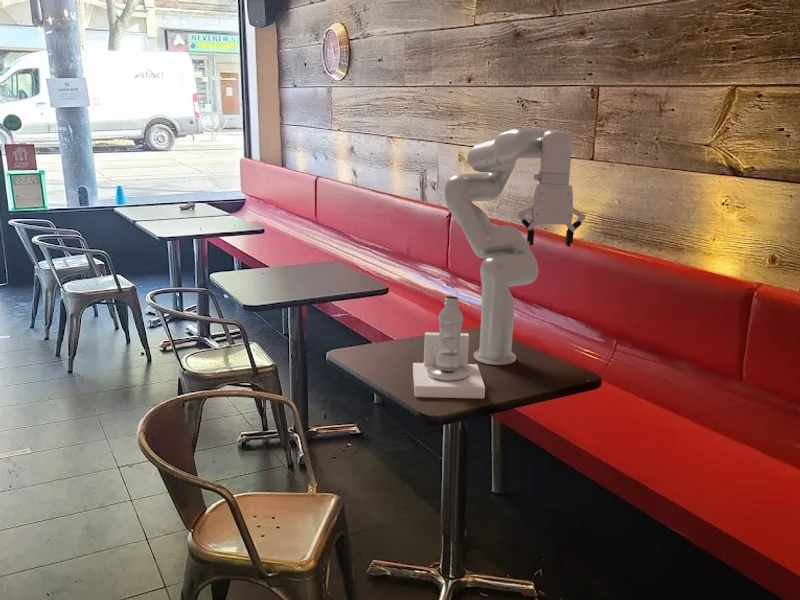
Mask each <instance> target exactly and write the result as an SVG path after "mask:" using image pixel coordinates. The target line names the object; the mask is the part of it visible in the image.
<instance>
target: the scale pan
mask: <svg viewBox="0 0 800 600" xmlns="http://www.w3.org/2000/svg"><path fill="white" fill-rule="evenodd" d="M427 374H428V375H429V376H430V377H432V378H434V379H438V380H443V381H457V380H462V379H465V378H467V377H468V369H467V368H465V367H463V366H461V365H460V367H459V368H458V369H457V370H456V371H443V370H440V369H439V368H438V367H437V364H434V365H431V366H429V367H428V369H427Z"/></svg>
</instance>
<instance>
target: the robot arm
mask: <svg viewBox="0 0 800 600" xmlns="http://www.w3.org/2000/svg"><path fill="white" fill-rule="evenodd" d="M572 148H573V134H572V133H571V131H567V130H554V129H549V128H515V129H511V130H507V131H504V132H501V133H499V134H497V136H496V137H495V138H494V139H491V140H488V141H487V140H486V141H484V142H480V143H477V144H475V145H474V146H472V147H471V148H470V150H469V151H468V153H467V158H466V159H467V164H468V166H469V167H470V168H471V169H472V170H473V171H475V172H477V173H473V172H472V173H459V174H455V175H453V176H451V177H449V179H448V180H447V181H446V183H445V186H444V200H445V202H446V203H445V204H446V206H447V208H448V210H449V212H450V214H451V215H452V218H454V219H455V221H456V222H457V223H458V225H459V227H460V228H461V230H462V231H463V234H464V237H465V238H466V240H467V242H468V244H469V245H470V248H471V249H472V252H473V253H474V254H475V256H477V257H478V258H481V259H484V260H483V261H482V262H481V264H480V267H479V268H480V269H479V272H480V273H479V274H480V282H481V315H480V334H479V348H478V350H476V351H474V352H473V358H474V360H475V361H477V362H479V363H482V364H486V365H492V366H503V365H504V366H505V365H510V364H514V363H515V362H516V360H517V355H516V354H515V353H514V352H512V348H513V347H512V344H513V331H514V316H515V300H514V297H513V295H512V293H511V290H510V287H516V286H517V287H518V286H525V285H530V284H533V283H534V282H535V281H536V280H537V279H538V276H539V265H538V261H537V259H536V257H535V255H534V253H533V251H532V250H531V248H530V246H534V241H535V239H534V238H535V230H534V228H535V227H536V226H537V225H538V224H540V225H565V226H566V227H567V230H566V233H565V246H567V247H569V248H570V247H571V244H572V243H573V242H574V232H575V231H576V230H577V229H578V228H579V227H580V226H581V225H582V223H583V222H584V220H585V218H586V214H585V213H583V212H581V211H579V210H578V209H577V208H574V194H573V193H574V191H573V186H572V185H571V184H570V175H571V162H572V151H573V150H572ZM530 158H531V159H533V158H534V159H540V168H539V173H538V174H534V175H533V180H535V181H538V183H537V184H536V186H535V190H534V195H533V198H532V205H531V206H529V207H526V208H525V209H522V210H521V211H518V213H517V214H518V217H519V218H520V221H521V223H522V225H524V227H525V228H527V237H526V239H525V238H524V236H523V234H522V232H521V231H520V230H519V229H518V228H516V227H515V226H512V225H494V224H493V223H492V222H491V221H490V219H489V217H488V215H487V213H485V211H484V210H483V209H481V208H480V207H479V206H478V205H477V204H475V203H474V202H489V201H491V202H492V201H494V200H497V199H498V197H500V196H501V194H502V192H503V191H504V188H505V187H506V184H507V183H508V181H509V179H510V177H511V175H512V173H513V171H514V168H515V166H516V163H517V160H518V159H530ZM528 214H531V220H530V221H529V222H528V220H527V219H526V215H528ZM573 214H574V215H576V216H577V220H575V222H573V217H574V215H573ZM572 222H573V223H572ZM527 242H528V243H527ZM528 244H529V245H528Z"/></svg>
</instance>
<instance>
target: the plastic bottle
mask: <svg viewBox="0 0 800 600" xmlns="http://www.w3.org/2000/svg"><path fill="white" fill-rule="evenodd" d="M459 299H460V298H459V297H458V296H453V295H448V296H445V297H444V302H443V305H444V307H443V308H442V309H441V311H440V312H439V315H438V327H439V333H440V341H439V349H438V353H437V358H436V364H437V367H438V368H439V369H440V370H443V371H456V370H457V369H458V368H459V367H460V363H461V357H460V334H461V333H462V327H463V321H464V315H463V313H462V311H461V310H460V308H459V307H458V306H460V301H459Z"/></svg>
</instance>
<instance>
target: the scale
mask: <svg viewBox="0 0 800 600" xmlns="http://www.w3.org/2000/svg"><path fill="white" fill-rule="evenodd" d="M439 341H440V332H429V331H426V332H424V345H423V346H424V349H423V362H413V363H412V378H413V379H412V381H413V390H414V398H440V399H441V398H448V399H450V398H451V399H452V398H454V399H485V397H486V395H485V394H486V386H485V383H484V380H483V377H482V375H481V371H480V369H479V366H478V364H477V363H476V364H475V363H474V364H473V363H469V348H470V345H469V344H470V343H469V342H470V335H469V333H468V332H466V333H465V332H461V334H460V357H461V363H460V365H461V366H463V367H465V368H467V369H468V377H467V378H465V379H462V380H457V381H443V380H438V379H434V378H432V377H430V376H429V375H428V374H427V369H428V367H429V366H431V365H434V364H436V358H437V353H438V349H439Z"/></svg>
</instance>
